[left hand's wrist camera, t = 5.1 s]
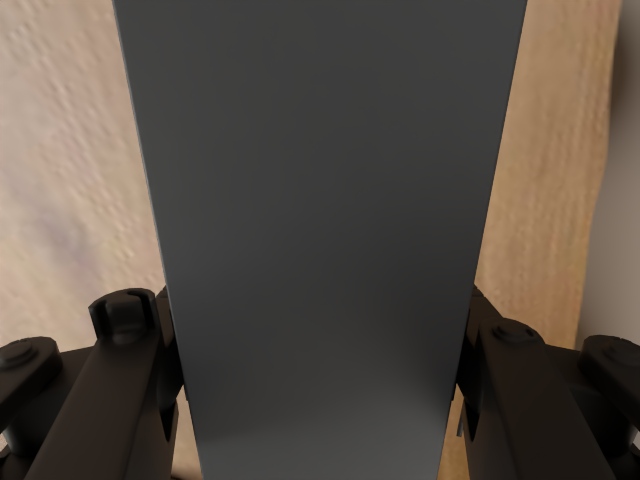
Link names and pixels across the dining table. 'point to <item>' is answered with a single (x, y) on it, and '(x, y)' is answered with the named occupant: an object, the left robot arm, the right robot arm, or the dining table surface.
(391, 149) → the bar
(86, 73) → the dining table surface
